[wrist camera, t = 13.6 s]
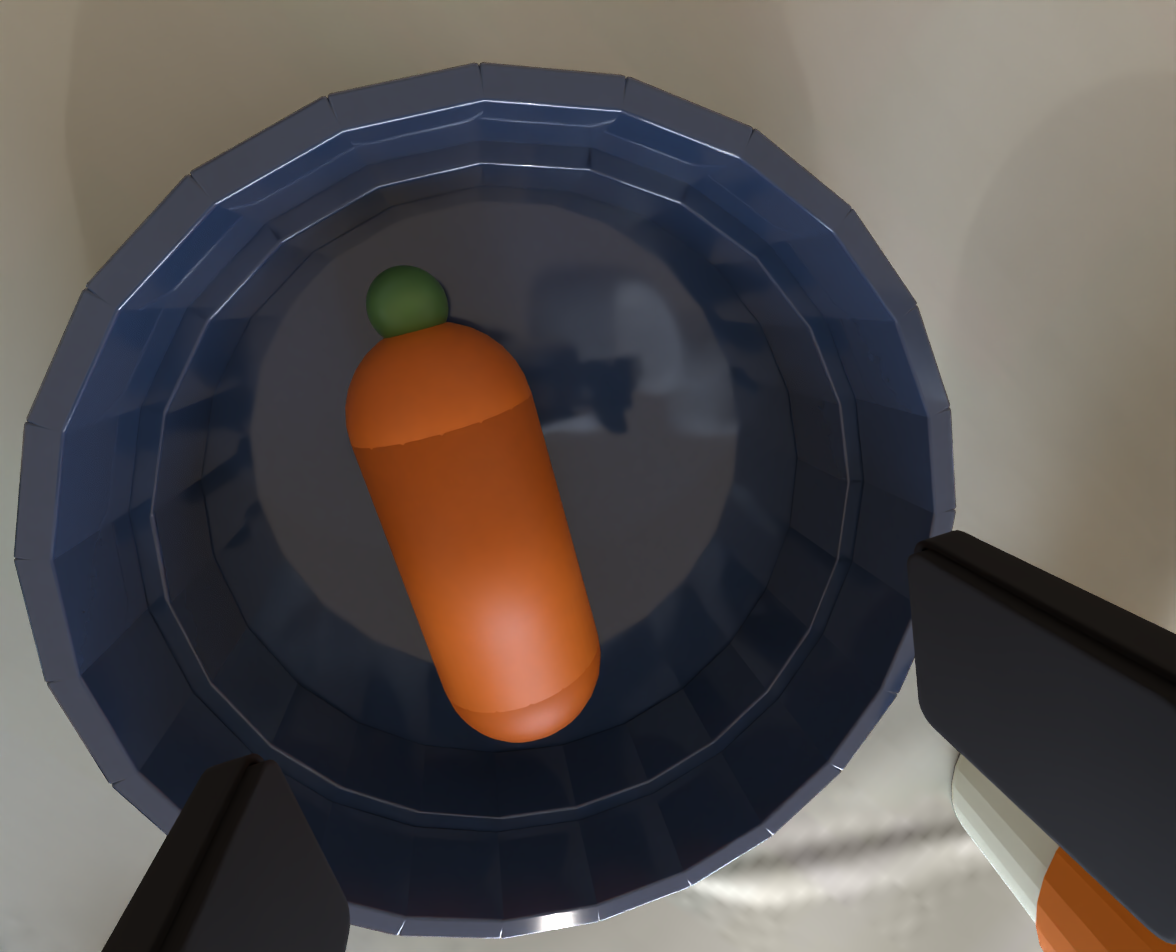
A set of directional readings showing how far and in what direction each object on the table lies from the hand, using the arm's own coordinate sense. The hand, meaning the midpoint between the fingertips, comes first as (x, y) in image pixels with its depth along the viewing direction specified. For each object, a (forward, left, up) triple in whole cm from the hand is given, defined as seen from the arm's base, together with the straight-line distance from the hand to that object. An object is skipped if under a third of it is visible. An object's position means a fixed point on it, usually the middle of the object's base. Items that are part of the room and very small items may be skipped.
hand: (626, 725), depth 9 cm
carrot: (+2, 0, -8) cm, 8 cm away
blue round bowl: (0, 0, -11) cm, 11 cm away
